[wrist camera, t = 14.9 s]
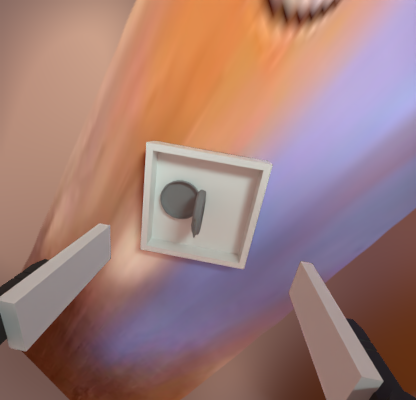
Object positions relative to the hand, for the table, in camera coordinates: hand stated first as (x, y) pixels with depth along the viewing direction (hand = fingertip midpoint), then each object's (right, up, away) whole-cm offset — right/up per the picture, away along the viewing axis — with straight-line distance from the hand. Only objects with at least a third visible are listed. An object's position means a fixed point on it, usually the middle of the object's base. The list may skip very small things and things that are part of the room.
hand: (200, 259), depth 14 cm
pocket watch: (-3, +4, +20) cm, 21 cm away
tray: (-1, +3, +21) cm, 21 cm away
